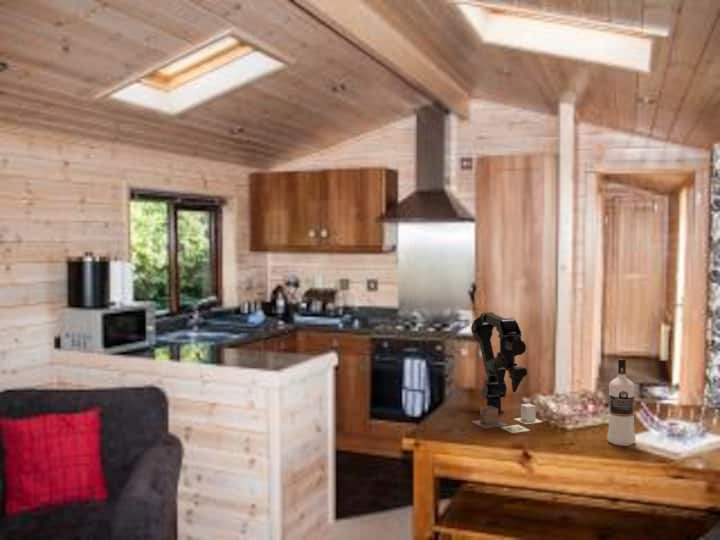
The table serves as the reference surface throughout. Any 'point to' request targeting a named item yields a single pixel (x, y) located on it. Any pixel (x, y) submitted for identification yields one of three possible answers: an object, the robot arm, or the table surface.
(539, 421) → the code tile
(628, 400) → the vodka
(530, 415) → the beige block
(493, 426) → the slate coaster
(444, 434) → the table surface
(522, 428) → the cream glyph tile
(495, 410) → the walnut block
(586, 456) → the table surface
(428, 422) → the table surface
